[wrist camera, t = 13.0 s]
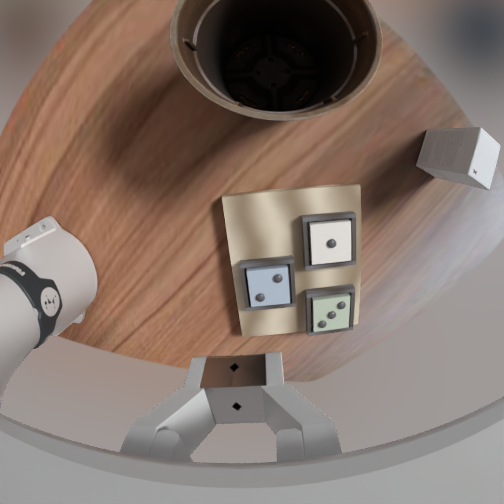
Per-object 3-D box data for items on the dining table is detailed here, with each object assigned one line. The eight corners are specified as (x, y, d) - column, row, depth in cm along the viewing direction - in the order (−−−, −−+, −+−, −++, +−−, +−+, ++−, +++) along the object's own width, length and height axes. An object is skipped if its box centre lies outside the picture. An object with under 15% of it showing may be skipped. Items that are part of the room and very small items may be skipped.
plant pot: (181, 98, 32) (129, 66, 17) (245, 4, 28) (238, -67, 12) (294, 158, 35) (321, 163, 20) (354, 61, 30) (409, 15, 15)
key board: (243, 329, 43) (241, 343, 40) (223, 194, 36) (220, 199, 33) (354, 316, 42) (360, 329, 39) (355, 183, 36) (364, 186, 32)
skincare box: (436, 178, 35) (489, 192, 23) (414, 165, 34) (466, 175, 23) (447, 141, 33) (502, 145, 21) (426, 127, 32) (480, 125, 21)
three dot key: (311, 324, 40) (313, 332, 38) (311, 294, 39) (313, 301, 37) (345, 320, 40) (349, 328, 38) (346, 289, 38) (350, 296, 36)
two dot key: (251, 300, 39) (251, 307, 37) (247, 265, 37) (246, 272, 35) (288, 296, 39) (290, 303, 37) (286, 261, 37) (287, 267, 35)
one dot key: (309, 259, 37) (312, 265, 35) (307, 221, 35) (310, 225, 33) (347, 255, 37) (351, 261, 35) (346, 217, 35) (351, 221, 33)
